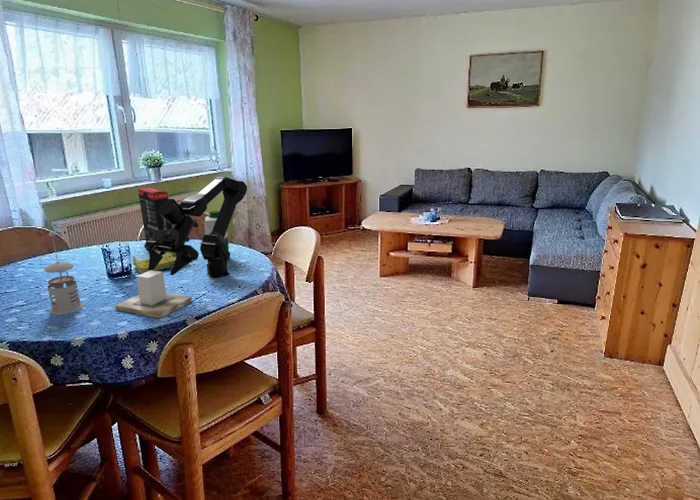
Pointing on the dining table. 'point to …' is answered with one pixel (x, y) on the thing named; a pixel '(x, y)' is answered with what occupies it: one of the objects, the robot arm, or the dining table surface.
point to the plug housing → (151, 287)
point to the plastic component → (164, 263)
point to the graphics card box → (152, 211)
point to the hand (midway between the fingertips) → (160, 273)
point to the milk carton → (210, 224)
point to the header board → (157, 309)
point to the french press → (62, 288)
